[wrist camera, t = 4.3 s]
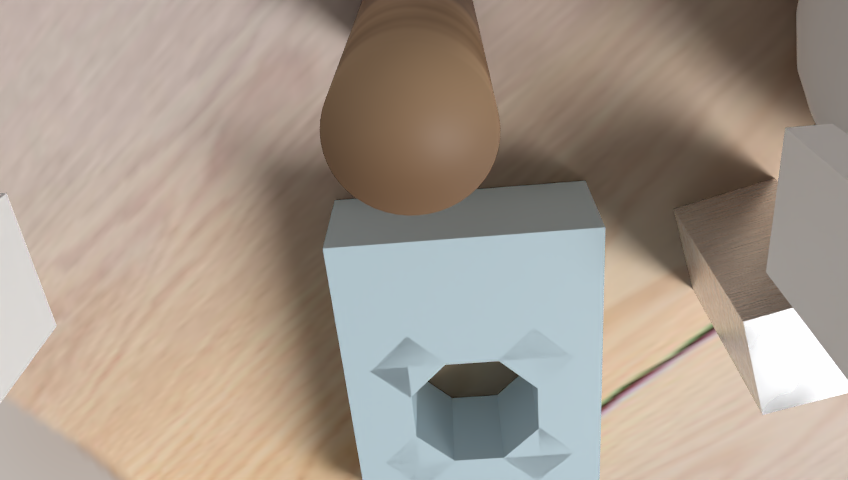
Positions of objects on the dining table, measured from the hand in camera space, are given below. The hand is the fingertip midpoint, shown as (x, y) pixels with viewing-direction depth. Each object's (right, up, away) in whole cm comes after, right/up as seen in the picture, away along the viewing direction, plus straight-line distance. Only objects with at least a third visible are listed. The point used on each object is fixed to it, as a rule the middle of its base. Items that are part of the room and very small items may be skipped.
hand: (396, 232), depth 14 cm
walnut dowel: (0, +8, +14) cm, 16 cm away
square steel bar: (+13, 0, +18) cm, 23 cm away
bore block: (+3, -5, +21) cm, 22 cm away
